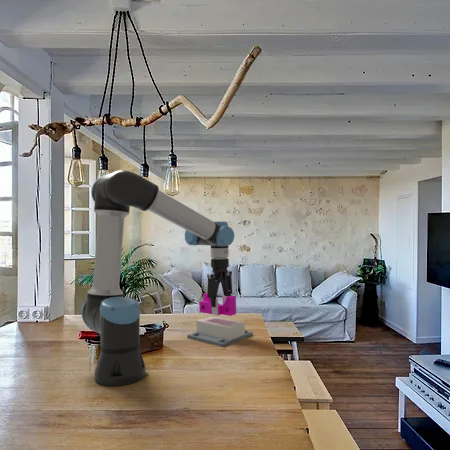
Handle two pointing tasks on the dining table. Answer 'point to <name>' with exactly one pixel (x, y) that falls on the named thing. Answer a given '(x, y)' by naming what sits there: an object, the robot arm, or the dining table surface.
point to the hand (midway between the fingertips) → (220, 313)
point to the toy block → (224, 309)
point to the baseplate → (216, 340)
